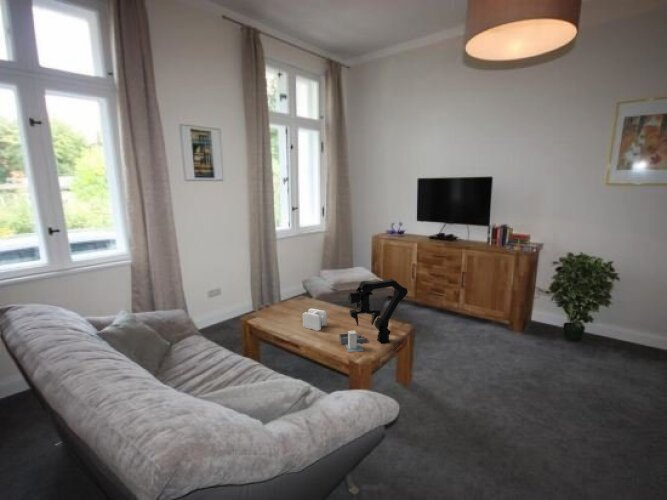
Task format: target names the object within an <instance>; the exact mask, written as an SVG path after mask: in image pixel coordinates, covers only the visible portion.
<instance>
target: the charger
mask: <svg viewBox="0 0 667 500" xmlns="http://www.w3.org/2000/svg"><path fill="white" fill-rule="evenodd" d="M347 334H348V346H349V349H354V348H357V335H358V333H357V331H356V329H354V330H348V331H347Z"/></svg>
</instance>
